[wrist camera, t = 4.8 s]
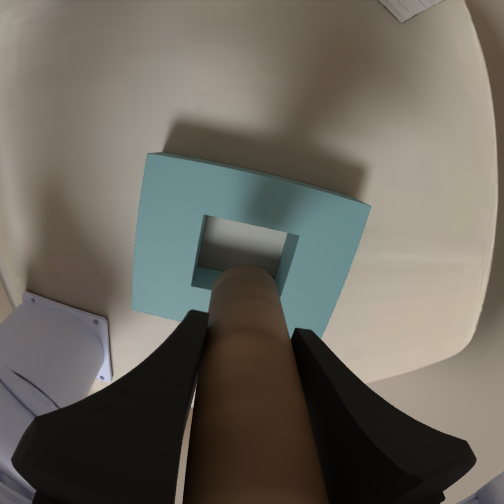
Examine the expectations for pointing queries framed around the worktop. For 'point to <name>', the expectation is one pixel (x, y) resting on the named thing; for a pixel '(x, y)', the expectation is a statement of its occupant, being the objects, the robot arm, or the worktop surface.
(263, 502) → the walnut peg
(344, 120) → the worktop surface
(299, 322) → the hole block
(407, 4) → the syrup box
